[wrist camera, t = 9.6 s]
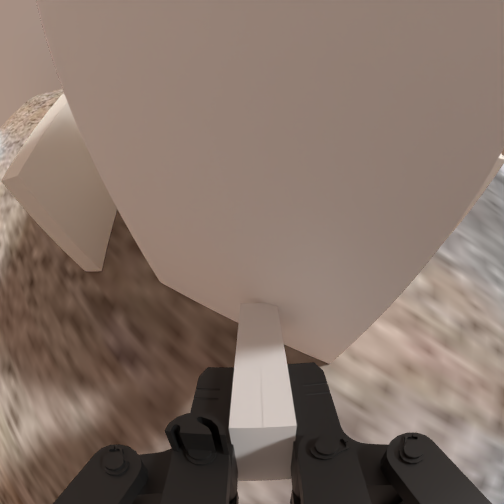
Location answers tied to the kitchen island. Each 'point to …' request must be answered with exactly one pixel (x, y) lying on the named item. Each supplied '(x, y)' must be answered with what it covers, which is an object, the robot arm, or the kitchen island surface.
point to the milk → (286, 142)
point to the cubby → (78, 188)
